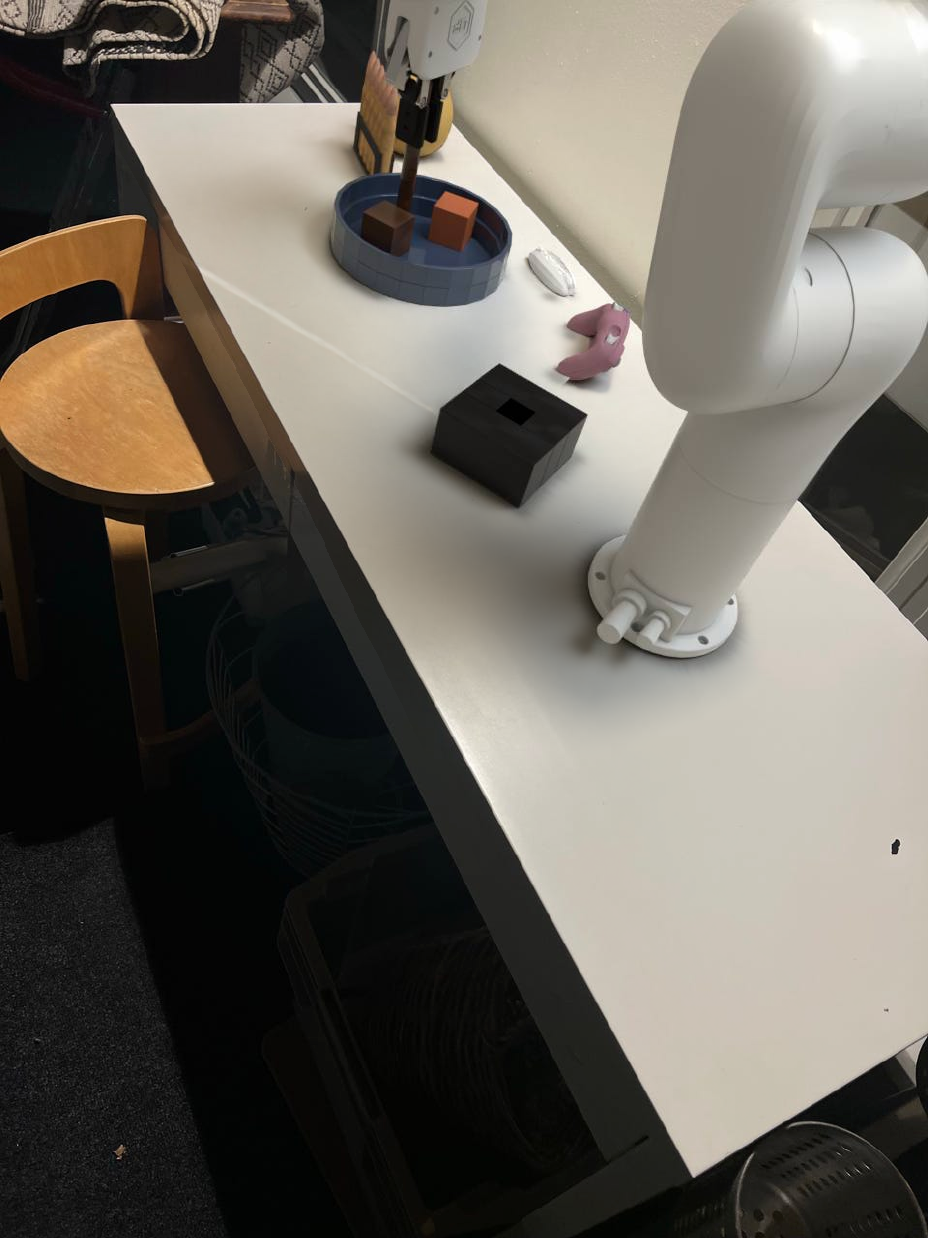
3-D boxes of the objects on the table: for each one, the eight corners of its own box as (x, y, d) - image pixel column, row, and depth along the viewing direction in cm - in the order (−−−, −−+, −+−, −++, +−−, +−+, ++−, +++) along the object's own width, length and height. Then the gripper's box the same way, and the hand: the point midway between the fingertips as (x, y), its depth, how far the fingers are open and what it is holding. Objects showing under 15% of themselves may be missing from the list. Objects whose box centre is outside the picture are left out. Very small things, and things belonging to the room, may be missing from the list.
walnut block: (388, 263, 96) (394, 228, 93) (358, 246, 97) (362, 211, 94) (409, 250, 99) (415, 215, 96) (379, 234, 100) (384, 199, 97)
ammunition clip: (389, 198, 107) (405, 90, 98) (374, 197, 106) (388, 89, 97) (366, 153, 113) (379, 47, 103) (352, 152, 112) (363, 46, 103)
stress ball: (445, 178, 113) (462, 93, 105) (367, 163, 111) (378, 75, 103) (444, 142, 119) (459, 59, 111) (370, 127, 117) (380, 42, 110)
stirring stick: (401, 232, 98) (427, 86, 86) (389, 226, 98) (413, 79, 87) (409, 227, 99) (436, 82, 87) (397, 221, 99) (422, 75, 88)
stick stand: (519, 508, 78) (534, 465, 74) (429, 452, 80) (439, 408, 76) (571, 456, 84) (588, 414, 80) (486, 406, 86) (499, 362, 82)
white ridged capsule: (541, 262, 105) (548, 239, 103) (577, 302, 101) (585, 279, 99) (519, 264, 103) (525, 241, 101) (555, 304, 100) (562, 282, 97)
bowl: (438, 335, 91) (447, 291, 88) (293, 250, 96) (296, 205, 92) (532, 271, 103) (543, 230, 99) (399, 198, 107) (405, 156, 103)
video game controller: (583, 402, 92) (634, 359, 87) (551, 373, 90) (601, 329, 86) (594, 349, 98) (642, 307, 94) (563, 322, 97) (610, 278, 92)
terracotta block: (427, 239, 101) (433, 205, 98) (438, 224, 104) (445, 190, 101) (460, 251, 101) (468, 217, 98) (471, 236, 103) (478, 202, 100)
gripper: (433, -52, 72) (398, 177, 86) (532, -73, 81) (487, 136, 95) (359, -87, 73) (337, 143, 87) (465, -103, 83) (430, 107, 97)
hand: (415, 138), depth 91 cm, fingers closed on stirring stick, 1 cm apart
